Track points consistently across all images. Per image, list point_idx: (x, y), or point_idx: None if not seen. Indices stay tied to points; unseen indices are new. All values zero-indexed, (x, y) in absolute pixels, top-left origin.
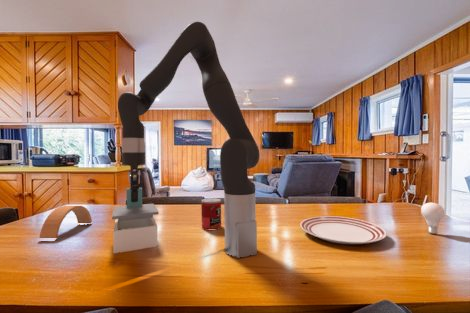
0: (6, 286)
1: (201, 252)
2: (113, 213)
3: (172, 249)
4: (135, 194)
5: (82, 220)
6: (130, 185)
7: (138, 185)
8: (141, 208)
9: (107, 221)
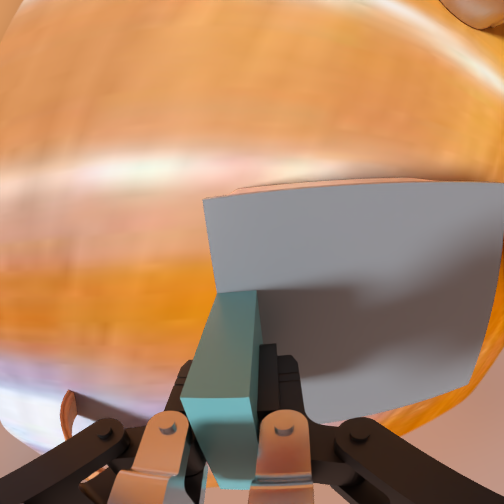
0: (419, 425)
1: (460, 67)
2: (418, 400)
3: (426, 131)
4: (301, 401)
5: (71, 416)
6: (204, 497)
7: (415, 449)
8: (384, 288)
9: (40, 354)
